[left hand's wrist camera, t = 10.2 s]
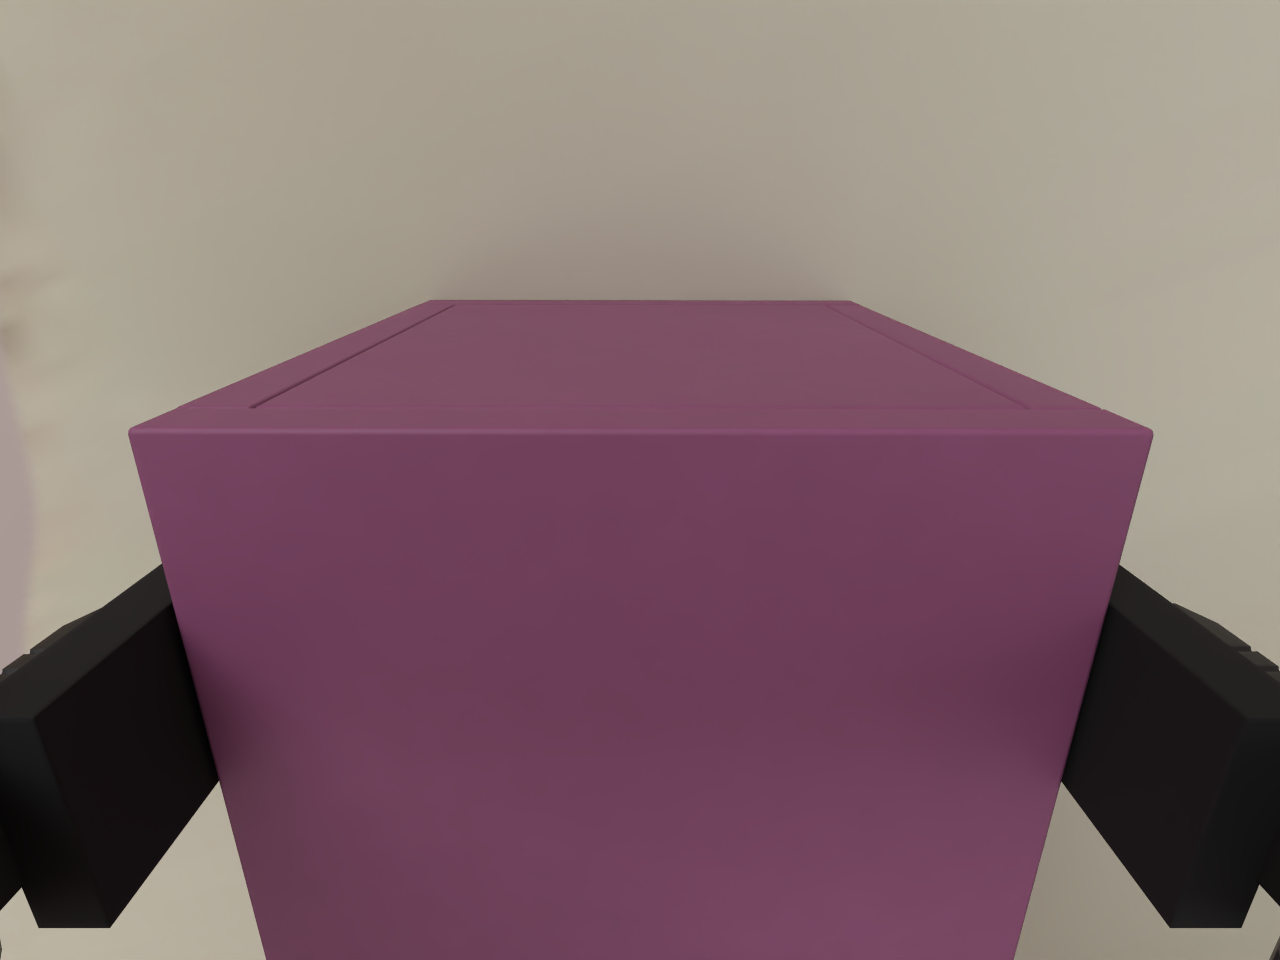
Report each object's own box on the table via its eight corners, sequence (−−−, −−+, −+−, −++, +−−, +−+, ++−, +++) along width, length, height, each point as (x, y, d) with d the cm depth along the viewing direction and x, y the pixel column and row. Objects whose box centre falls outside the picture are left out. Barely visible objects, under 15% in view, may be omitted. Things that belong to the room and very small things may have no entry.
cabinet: (801, 781, 24) (936, 1255, 13) (476, 781, 24) (342, 1255, 13) (852, 300, 18) (1159, 429, 8) (428, 299, 18) (122, 429, 8)
